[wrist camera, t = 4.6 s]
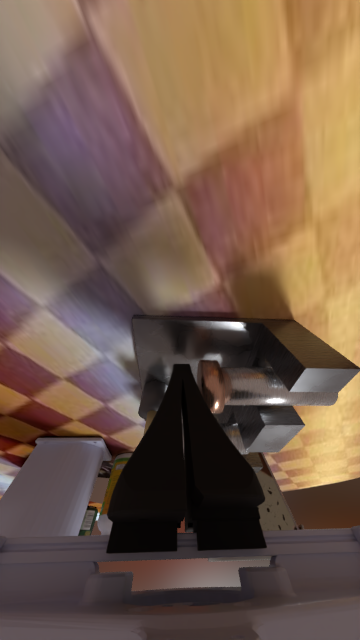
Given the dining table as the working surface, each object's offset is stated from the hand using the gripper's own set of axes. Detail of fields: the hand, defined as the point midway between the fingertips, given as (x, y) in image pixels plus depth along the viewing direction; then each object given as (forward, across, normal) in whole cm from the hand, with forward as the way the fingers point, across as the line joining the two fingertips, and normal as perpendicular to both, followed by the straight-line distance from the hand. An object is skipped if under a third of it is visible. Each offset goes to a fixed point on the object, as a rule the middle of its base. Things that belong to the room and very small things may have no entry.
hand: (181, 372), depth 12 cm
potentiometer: (+2, +2, +4) cm, 5 cm away
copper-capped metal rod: (+1, -6, 0) cm, 6 cm away
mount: (+2, -3, +4) cm, 6 cm away
